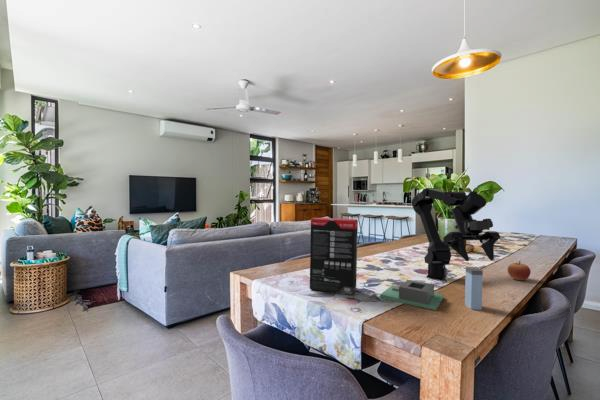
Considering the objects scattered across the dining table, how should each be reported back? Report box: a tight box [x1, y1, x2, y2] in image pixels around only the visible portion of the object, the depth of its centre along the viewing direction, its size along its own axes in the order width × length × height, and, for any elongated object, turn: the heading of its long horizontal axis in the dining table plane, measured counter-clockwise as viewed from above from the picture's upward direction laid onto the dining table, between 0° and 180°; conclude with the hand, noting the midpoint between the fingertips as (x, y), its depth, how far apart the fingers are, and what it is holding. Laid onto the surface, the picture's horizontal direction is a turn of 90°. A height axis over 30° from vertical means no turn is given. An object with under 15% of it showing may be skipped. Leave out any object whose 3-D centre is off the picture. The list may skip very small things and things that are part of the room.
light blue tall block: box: [464, 266, 484, 311], centre depth 93 cm, size 3×4×12 cm
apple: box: [507, 260, 532, 281], centre depth 124 cm, size 8×8×8 cm
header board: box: [379, 279, 445, 311], centre depth 101 cm, size 18×13×5 cm
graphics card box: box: [309, 217, 359, 296], centre depth 108 cm, size 17×7×27 cm, turn 71°
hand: (480, 260), depth 100 cm, fingers open, 9 cm apart
